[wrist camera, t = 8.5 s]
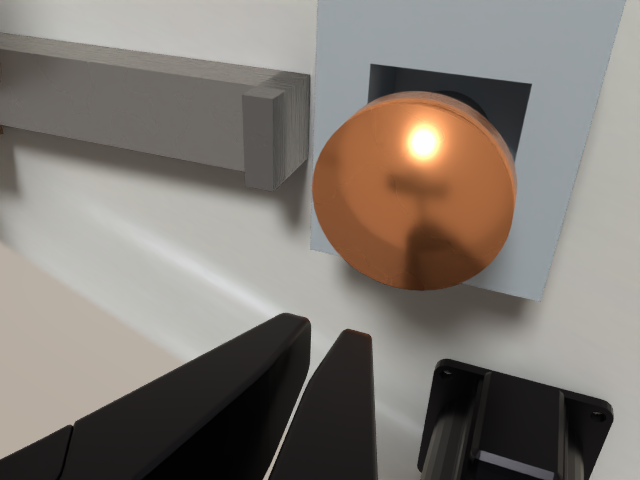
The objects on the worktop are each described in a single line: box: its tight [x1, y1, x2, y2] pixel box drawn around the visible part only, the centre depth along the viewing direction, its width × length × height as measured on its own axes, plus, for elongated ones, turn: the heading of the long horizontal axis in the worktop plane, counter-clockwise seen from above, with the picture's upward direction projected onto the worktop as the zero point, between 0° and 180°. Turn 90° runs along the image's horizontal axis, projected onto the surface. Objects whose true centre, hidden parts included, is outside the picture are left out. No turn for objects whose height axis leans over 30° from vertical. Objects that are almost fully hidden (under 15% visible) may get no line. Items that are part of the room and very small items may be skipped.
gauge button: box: [312, 90, 517, 291], centre depth 14 cm, size 4×4×4 cm
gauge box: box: [310, 0, 626, 302], centre depth 17 cm, size 8×7×4 cm
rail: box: [0, 33, 310, 192], centre depth 22 cm, size 3×22×3 cm, turn 88°
